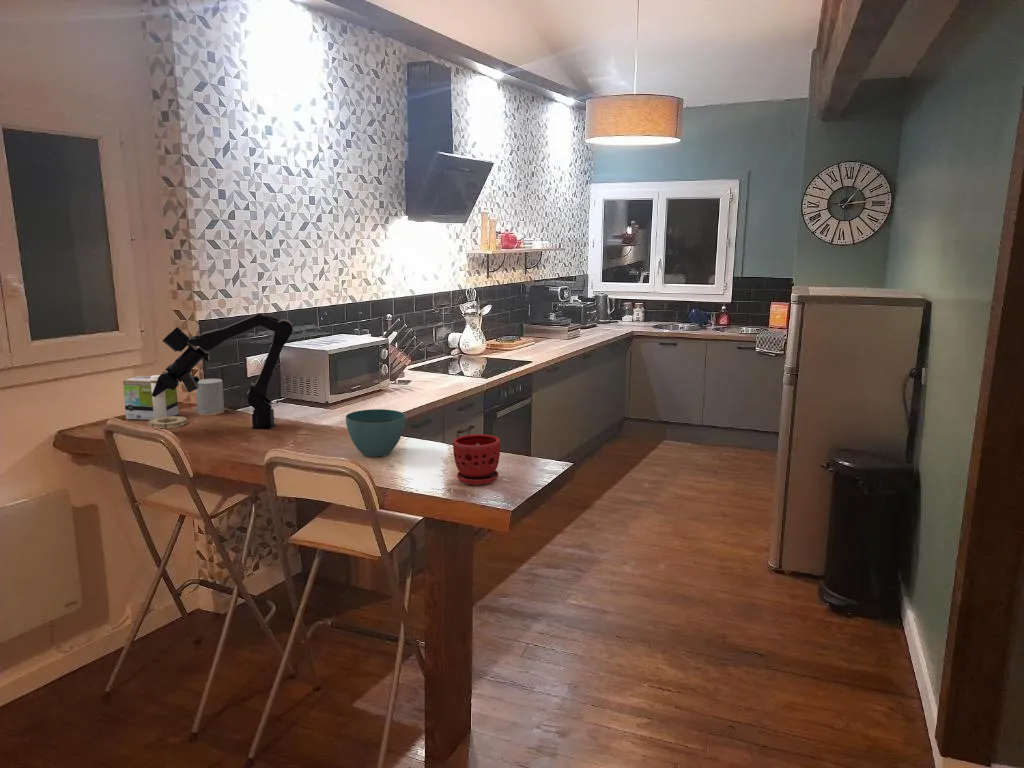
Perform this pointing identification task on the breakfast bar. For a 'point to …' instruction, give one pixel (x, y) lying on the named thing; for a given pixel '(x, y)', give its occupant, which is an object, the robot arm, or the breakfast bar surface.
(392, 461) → the breakfast bar surface
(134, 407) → the tea box
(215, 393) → the gray cylinder
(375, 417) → the plant pot
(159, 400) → the needle peg
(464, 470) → the plant pot
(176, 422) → the bead ring
